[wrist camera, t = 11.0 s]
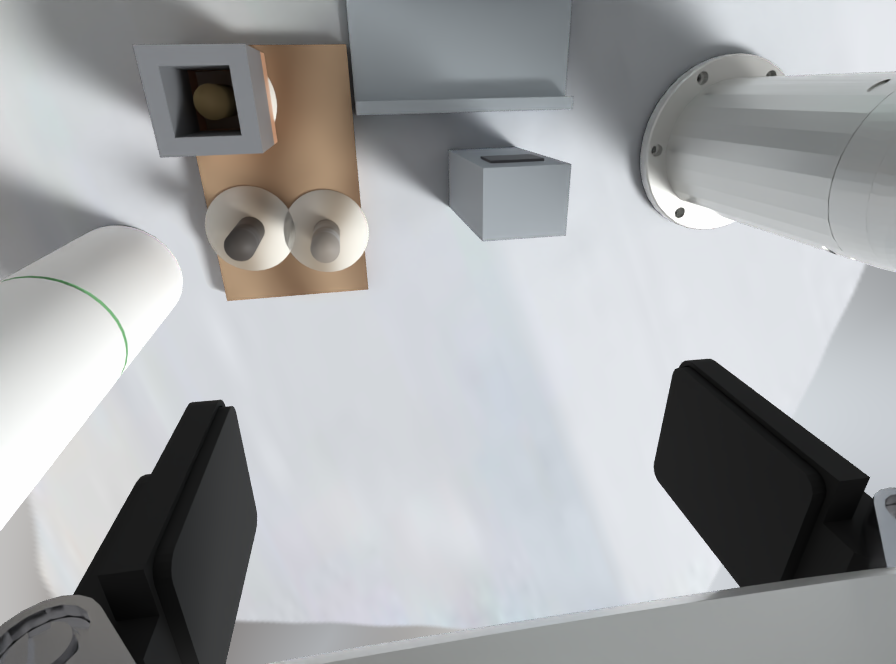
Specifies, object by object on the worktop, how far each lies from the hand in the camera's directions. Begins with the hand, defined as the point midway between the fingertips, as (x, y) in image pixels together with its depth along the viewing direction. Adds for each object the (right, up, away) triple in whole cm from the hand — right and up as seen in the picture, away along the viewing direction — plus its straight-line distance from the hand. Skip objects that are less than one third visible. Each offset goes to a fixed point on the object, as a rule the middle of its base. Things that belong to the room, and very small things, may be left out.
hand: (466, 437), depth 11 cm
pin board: (-12, +13, +24) cm, 30 cm away
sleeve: (-14, +16, +21) cm, 30 cm away
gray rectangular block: (+2, +14, +27) cm, 30 cm away
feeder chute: (0, +21, +23) cm, 31 cm away
